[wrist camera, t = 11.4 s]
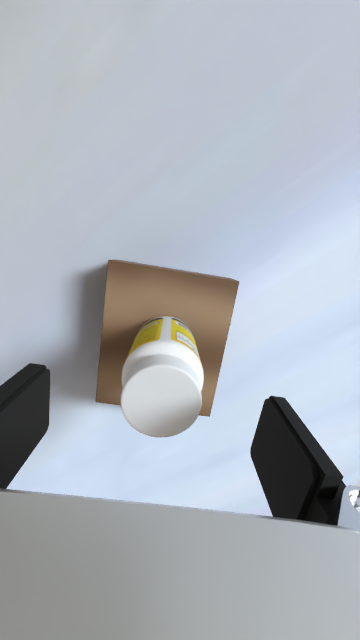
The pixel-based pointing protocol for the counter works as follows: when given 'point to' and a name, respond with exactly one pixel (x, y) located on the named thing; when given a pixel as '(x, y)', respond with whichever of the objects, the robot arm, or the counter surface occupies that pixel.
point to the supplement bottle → (162, 379)
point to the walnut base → (157, 301)
